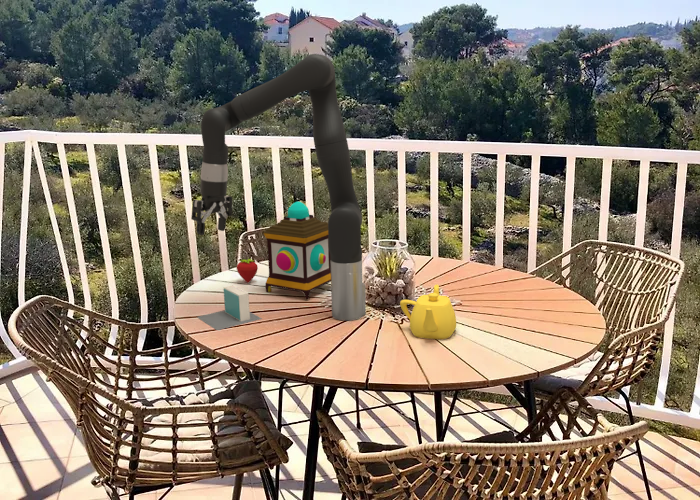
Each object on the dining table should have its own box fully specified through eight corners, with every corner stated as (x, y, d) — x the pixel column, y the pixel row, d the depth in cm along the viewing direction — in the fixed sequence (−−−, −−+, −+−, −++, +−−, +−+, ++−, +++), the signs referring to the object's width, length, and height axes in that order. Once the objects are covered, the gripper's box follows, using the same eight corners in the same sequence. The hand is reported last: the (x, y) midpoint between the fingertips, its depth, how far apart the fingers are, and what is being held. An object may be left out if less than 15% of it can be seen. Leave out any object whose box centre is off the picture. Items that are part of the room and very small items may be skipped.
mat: (240, 307, 205) (240, 306, 205) (262, 319, 194) (262, 318, 194) (196, 318, 197) (196, 316, 197) (217, 331, 186) (217, 330, 186)
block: (234, 310, 202) (232, 285, 200) (249, 319, 194) (248, 293, 192) (224, 312, 200) (222, 287, 198) (240, 321, 192) (238, 295, 190)
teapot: (405, 315, 195) (405, 280, 193) (458, 318, 192) (459, 283, 189) (393, 344, 175) (393, 305, 172) (452, 348, 171) (453, 308, 169)
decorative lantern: (308, 303, 208) (305, 209, 201) (259, 293, 218) (254, 204, 211) (342, 286, 225) (340, 198, 217) (295, 278, 235) (291, 194, 227)
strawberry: (241, 279, 234) (239, 252, 232) (261, 280, 232) (259, 253, 230) (234, 284, 229) (232, 256, 226) (254, 285, 227) (253, 257, 224)
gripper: (205, 182, 183) (203, 239, 187) (240, 178, 195) (237, 231, 199) (186, 177, 187) (184, 233, 191) (221, 174, 198) (218, 226, 203)
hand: (211, 232), depth 195 cm, fingers open, 8 cm apart
